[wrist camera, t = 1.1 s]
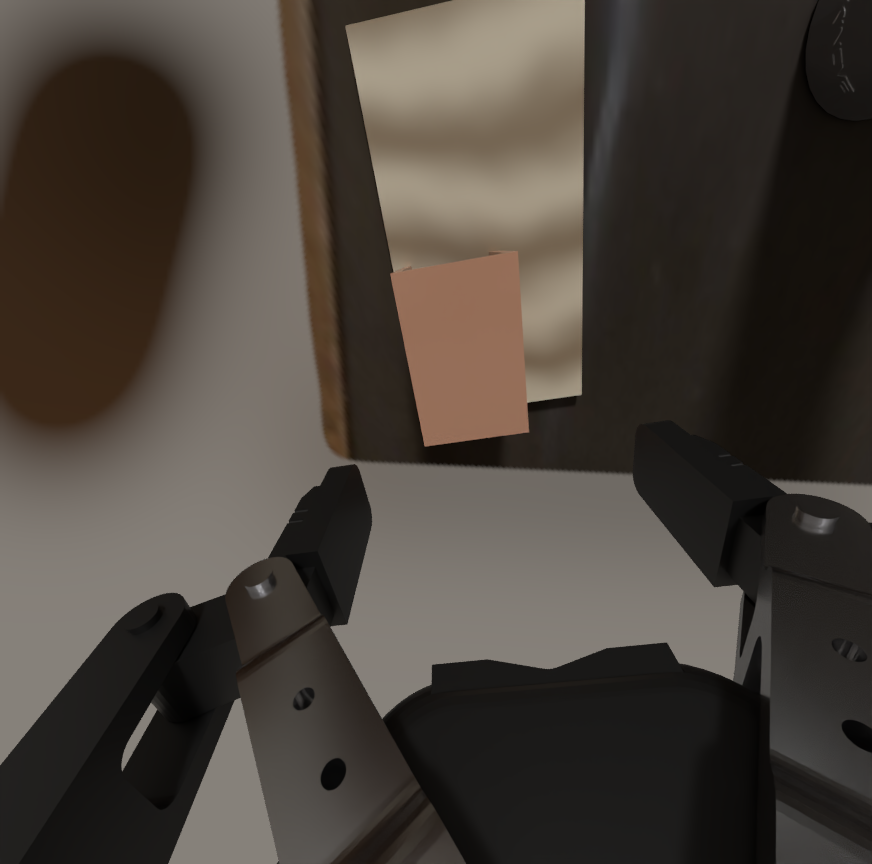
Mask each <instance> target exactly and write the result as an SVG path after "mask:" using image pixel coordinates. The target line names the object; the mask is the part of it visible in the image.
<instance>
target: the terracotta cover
mask: <svg viewBox="0 0 872 864" xmlns="http://www.w3.org/2000/svg"><path fill="white" fill-rule="evenodd" d="M390 275H391V280H392V285H393V290H394V295H395V300H396V305H397V310H398V315H399V320H400V325H401V330H402V335H403V340H404V345H405V350H406V355H407V360H408V365H409V370H410V375H411V380H412V385H413V390H414V395H415V400H416V405H417V410H418V415H419V420H420V425H421V430H422V435H423V440H424V445H425V446H432V445H440V444H447V443H454V442H461V441H468V440H476V439H483V438H490V437H497V436H505V435H512V434H519V433H526V432H529V426H528V409H527V393H526V376H525V360H524V343H523V327H522V310H521V293H520V277H519V260H518V251H491V252H489V256H485V257H479V258H474V259H468V260H462V261H457V262H451V263H445V264H440V265H434V266H429V267H423V268H417V269H412V267H411V266H407V267H403V268H401V269H399V270H397V271H395V272H393V273H391V274H390Z"/></svg>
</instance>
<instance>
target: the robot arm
mask: <svg viewBox="0 0 872 864" xmlns="http://www.w3.org/2000/svg"><path fill="white" fill-rule="evenodd" d="M806 74H807V79H808V83H809V88H810V90H811V92H812V94H813V96H814V98H815V100H816V102H817V103H818V104H819V105H820V106H821V107H822V108H823V109H824V110H825V111H826V112H827V113H829V114H831V115H833V116H835V117H837V118H839V119H846V120H853V121H858V120H866V119H872V0H819V1H818V4H817V7H816V10H815V13H814V16H813V19H812V22H811V25H810V28H809V34H808V40H807V45H806ZM633 480H634V484H635V487H636V489H637V491H638V493H639V495H640V496H641V497H642V498H643V500H644V501H645V502H646V503H647V505H648V506H649V507H650V508H651V510H652V511H653V512H654V513H655V515H656V516H657V517H658V518H659V519H660V521H661V522H662V523H663V524H664V526H665V527H666V528H667V529H668V530H669V532H670V533H671V534H672V536H673V537H674V538H675V539H676V540H677V542H678V543H679V544H680V545H681V547H682V548H683V549H684V550H685V551H686V553H687V554H688V555H689V556H690V558H691V559H692V560H693V561H694V563H695V564H696V565H697V566H698V568H699V569H700V570H701V571H702V573H703V574H704V575H705V576H706V577H707V579H708V580H709V581H710V582H711V584H712V585H713V586H714V587H720V586H730V585H739V587H740V588H741V589H742V590H743V595H742V599H741V603H740V615H739V626H738V638H737V650H736V661H735V671H734V678H733V681H732V680H730V679H728V678H725V677H723V676H721V675H718V674H715V673H713V672H710V671H707V670H704V669H701V668H697V667H693V666H689V665H685V664H679V663H678V661H677V659H676V658H675V656H674V654H673V652H672V651H671V649H670V647H669V645H668V644H667V643H657V644H647V645H637V646H626V647H616V648H606V649H604V650H601V651H599V652H596V653H593V654H591V655H588V656H586V657H583V658H580V659H578V660H575V661H573V662H570V663H568V664H565V665H562V666H560V667H557V668H554V669H542V668H536V667H530V666H523V665H517V664H511V663H505V662H499V661H493V660H478V661H467V662H458V663H446V664H436V665H432V685H430V686H427V687H425V688H423V689H421V690H419V691H417V692H415V693H413V694H411V695H410V696H408V697H407V698H406V699H404V700H403V701H401V702H400V703H399V704H397V705H396V706H395V707H394V708H393V709H392V710H391V711H390V712H388V713H387V714H386V715H385V717H384V718H383V719H382V718H381V716H380V715H379V713H378V711H377V709H376V707H375V706H374V704H373V702H372V700H371V698H370V697H369V696H368V693H367V692H366V690H365V688H364V686H363V684H362V683H361V681H360V679H359V677H358V675H357V674H356V672H355V670H354V668H353V666H352V665H351V663H350V661H349V659H348V658H347V656H346V654H345V653H344V650H343V649H342V647H341V645H340V644H339V642H338V640H337V638H336V636H335V634H334V633H333V631H332V629H331V628H330V627H331V626H336V625H345V624H347V623H348V619H349V615H350V611H351V607H352V603H353V599H354V595H355V591H356V587H357V583H358V579H359V575H360V571H361V567H362V563H363V559H364V555H365V551H366V546H367V543H368V539H369V535H370V531H371V526H372V514H371V508H370V504H369V501H368V498H367V494H366V491H365V488H364V484H363V481H362V478H361V475H360V471H359V469H358V467H357V466H356V465H355V464H353V465H346V466H339V467H332V468H330V469H329V470H328V472H327V474H326V476H325V478H324V480H323V482H322V483H321V485H320V486H316V487H313V488H312V489H311V490H310V491H309V492H308V493H307V494H306V495H305V496H303V497H302V498H301V500H300V502H299V503H298V505H297V507H296V509H295V513H293V514H292V516H291V518H290V520H289V523H288V524H287V525H286V527H285V529H284V530H283V532H282V534H281V536H280V538H279V539H278V541H277V543H276V545H275V546H274V548H273V550H272V552H271V554H270V555H269V557H268V559H264V560H261V561H259V562H257V563H255V564H253V565H251V566H250V567H248V568H246V569H245V570H244V571H242V572H241V573H240V574H239V575H238V576H237V577H236V578H235V579H234V580H233V581H232V582H231V584H230V585H229V587H228V589H227V592H226V594H225V595H223V596H220V597H217V598H214V599H212V600H209V601H206V602H203V603H201V604H198V605H196V606H192V607H189V605H188V604H187V602H186V601H185V599H184V598H183V596H181V595H180V594H177V593H166V594H162V595H159V596H156V597H153V598H151V599H149V600H147V601H145V602H143V603H141V604H140V605H138V606H137V607H135V608H133V609H132V610H131V611H129V612H128V613H127V614H125V615H124V616H123V617H122V618H121V619H120V620H119V621H118V622H117V623H116V624H115V625H114V626H113V627H112V628H111V630H110V631H109V632H108V633H107V635H106V636H105V637H104V638H103V640H102V641H101V642H100V643H99V644H98V646H97V647H96V648H95V649H94V651H93V652H92V653H91V654H90V656H89V657H88V658H87V659H86V660H85V662H84V663H83V664H82V665H81V667H80V668H79V669H78V670H77V672H76V673H75V674H74V675H73V677H72V678H71V679H70V680H69V682H68V683H67V684H66V685H65V686H64V688H63V689H62V690H61V691H60V693H59V694H58V695H57V696H56V697H55V699H54V700H53V701H52V702H51V704H50V705H49V706H48V707H47V709H46V710H45V711H44V712H43V714H42V715H41V716H40V717H39V718H38V720H37V721H36V722H35V723H34V725H33V726H32V727H31V728H30V730H29V731H28V732H27V733H26V734H25V736H24V737H23V738H22V739H21V741H20V742H19V743H18V744H17V746H16V747H15V748H14V749H13V750H12V752H11V753H10V754H9V755H8V757H7V758H6V759H5V760H4V762H3V763H2V764H1V765H0V864H168V863H169V860H170V858H171V855H172V853H173V851H174V848H175V845H176V843H177V840H178V838H179V836H180V833H181V831H182V828H183V826H184V824H185V821H186V818H187V816H188V814H189V811H190V809H191V806H192V804H193V801H194V799H195V796H196V794H197V791H198V789H199V787H200V784H201V782H202V779H203V777H204V774H205V772H206V769H207V767H208V764H209V762H210V759H211V757H212V754H213V752H214V750H215V747H216V745H217V742H218V740H219V737H220V735H221V732H222V730H223V727H224V725H225V722H226V720H227V718H228V715H229V713H230V710H231V707H232V705H233V703H234V700H236V699H238V698H241V701H242V705H243V710H244V714H245V718H246V723H247V727H248V731H249V735H250V739H251V744H252V748H253V753H254V757H255V761H256V765H257V769H258V774H259V778H260V782H261V787H262V791H263V795H264V800H265V804H266V808H267V812H268V817H269V821H270V825H271V830H272V834H273V838H274V842H275V847H276V851H277V855H278V860H279V861H278V863H277V864H872V523H868V522H867V521H866V519H864V518H863V517H862V516H861V515H860V514H858V513H857V512H855V511H854V510H852V509H850V508H848V507H847V506H844V505H842V504H840V503H837V502H834V501H832V500H828V499H825V498H821V497H817V496H812V495H805V494H786V493H785V492H784V491H782V490H781V489H780V488H778V487H777V486H775V485H774V484H773V483H771V482H770V481H768V480H767V479H765V478H764V477H763V476H761V475H760V474H758V473H757V472H756V471H754V470H753V469H751V468H750V467H748V466H747V465H743V462H741V461H740V460H739V459H737V458H736V457H734V456H730V453H729V452H727V451H726V450H724V449H723V448H722V447H720V446H719V445H717V444H716V443H714V442H712V441H709V440H706V439H704V438H701V437H698V436H696V435H690V434H689V433H687V432H686V431H685V430H683V429H682V428H681V427H679V426H678V425H676V424H675V423H674V422H672V421H670V420H668V421H660V422H653V423H646V424H640V425H639V426H638V427H637V430H636V436H635V450H634V464H633ZM150 703H152V704H153V705H154V706H155V707H156V708H157V711H156V713H155V715H154V717H153V718H152V720H151V722H150V724H149V726H148V727H147V729H146V731H145V732H144V734H143V736H142V738H141V740H140V741H139V743H138V745H137V747H136V749H135V750H134V752H133V754H132V756H131V757H130V759H129V761H128V763H127V764H126V766H125V768H124V770H123V771H122V770H121V763H122V757H123V752H124V749H125V747H126V745H127V742H128V741H129V739H130V737H131V735H132V734H133V732H134V730H135V728H136V727H137V725H138V723H139V722H140V720H141V718H142V717H143V715H144V713H145V711H146V710H147V708H148V706H149V705H150Z"/></svg>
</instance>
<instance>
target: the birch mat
mask: <svg viewBox="0 0 872 864" xmlns="http://www.w3.org/2000/svg"><path fill="white" fill-rule="evenodd" d="M584 20H585V0H453V1H449V2H445V3H440V4H436V5H432V6H428V7H423V8H419V9H415V10H411V11H406V12H402V13H398V14H394V15H389V16H385V17H381V18H376V19H372V20H368V21H364V22H359V23H355V24H351V25H347V26H346V31H347V36H348V41H349V47H350V52H351V57H352V62H353V67H354V72H355V77H356V82H357V87H358V93H359V98H360V103H361V108H362V113H363V118H364V123H365V128H366V133H367V139H368V144H369V149H370V154H371V159H372V164H373V169H374V174H375V179H376V185H377V190H378V195H379V200H380V205H381V210H382V215H383V220H384V225H385V231H386V236H387V241H388V246H389V251H390V256H391V261H392V266H393V271H394V272H395V271H397V270H399V269H401V268H403V267H407V266H411V267H412V269H417V268H423V267H429V266H434V265H440V264H445V263H451V262H457V261H462V260H468V259H474V258H479V257H485V256H489V252H491V251H518V260H519V277H520V293H521V310H522V327H523V343H524V360H525V376H526V393H527V403H528V402H535V401H542V400H549V399H556V398H563V397H569V396H576V395H582V275H583V147H584Z"/></svg>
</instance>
